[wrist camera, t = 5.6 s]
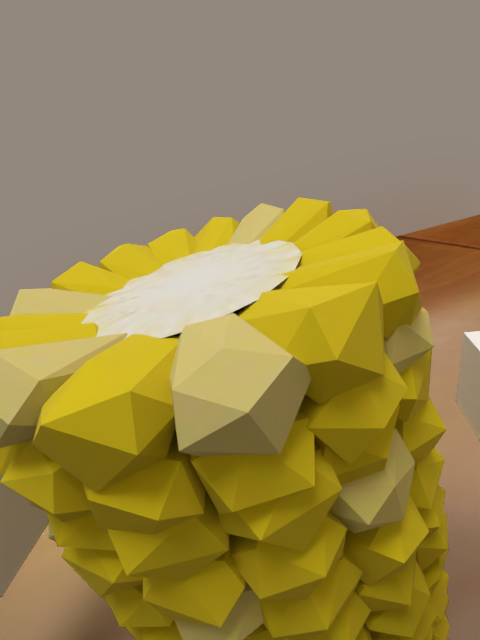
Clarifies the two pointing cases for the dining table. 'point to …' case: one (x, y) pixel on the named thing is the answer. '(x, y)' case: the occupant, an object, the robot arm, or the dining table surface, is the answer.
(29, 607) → the dining table surface
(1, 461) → the food
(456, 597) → the dining table surface
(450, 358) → the dining table surface
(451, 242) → the dining table surface
